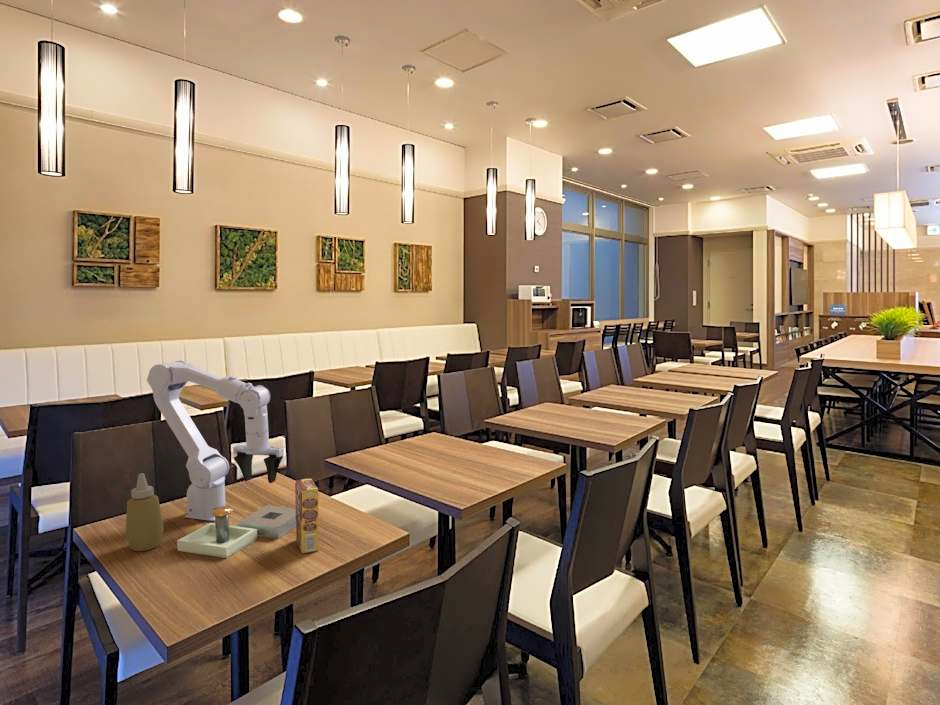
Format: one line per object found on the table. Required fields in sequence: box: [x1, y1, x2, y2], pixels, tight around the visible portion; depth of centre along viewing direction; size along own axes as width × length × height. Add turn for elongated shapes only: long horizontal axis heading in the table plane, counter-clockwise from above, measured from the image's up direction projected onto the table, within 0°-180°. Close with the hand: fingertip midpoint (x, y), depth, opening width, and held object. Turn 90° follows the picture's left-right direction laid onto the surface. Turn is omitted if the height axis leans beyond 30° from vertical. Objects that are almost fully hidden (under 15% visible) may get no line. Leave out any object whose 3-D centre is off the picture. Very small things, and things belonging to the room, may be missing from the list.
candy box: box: [294, 478, 320, 554], centre depth 137 cm, size 9×4×15 cm, turn 26°
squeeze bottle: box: [124, 472, 165, 552], centre depth 136 cm, size 8×8×18 cm
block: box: [237, 504, 296, 540], centre depth 149 cm, size 12×12×3 cm
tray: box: [176, 522, 258, 559], centre depth 138 cm, size 14×11×2 cm
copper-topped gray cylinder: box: [212, 505, 232, 543], centre depth 138 cm, size 4×4×8 cm
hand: (260, 480), depth 153 cm, fingers open, 7 cm apart
